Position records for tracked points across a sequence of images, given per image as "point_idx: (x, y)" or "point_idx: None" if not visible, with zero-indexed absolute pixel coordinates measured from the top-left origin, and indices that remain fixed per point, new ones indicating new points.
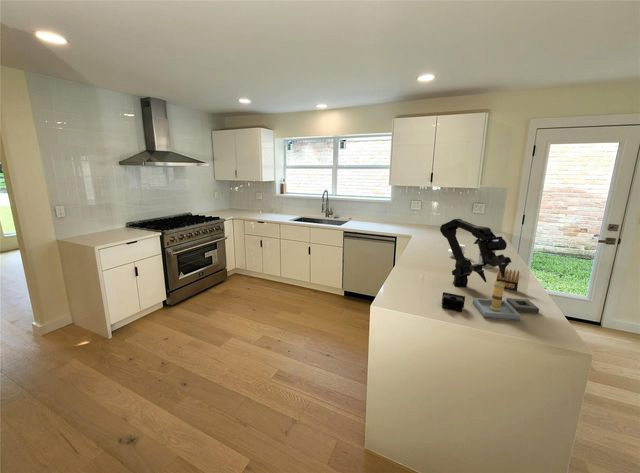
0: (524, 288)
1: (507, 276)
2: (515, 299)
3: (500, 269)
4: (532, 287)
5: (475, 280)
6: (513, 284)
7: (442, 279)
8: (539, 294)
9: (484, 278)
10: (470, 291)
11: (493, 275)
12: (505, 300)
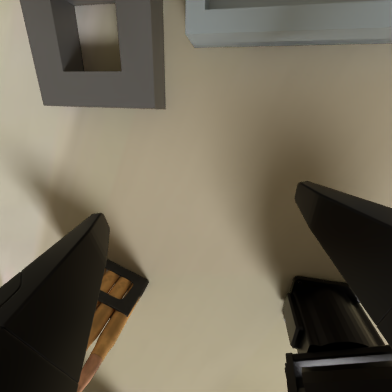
0: None
1: None
2: (110, 91)
3: (74, 334)
4: None
5: (205, 339)
6: None
7: None
8: (2, 219)
9: (352, 199)
10: (301, 235)
11: (117, 365)
12: (185, 33)
